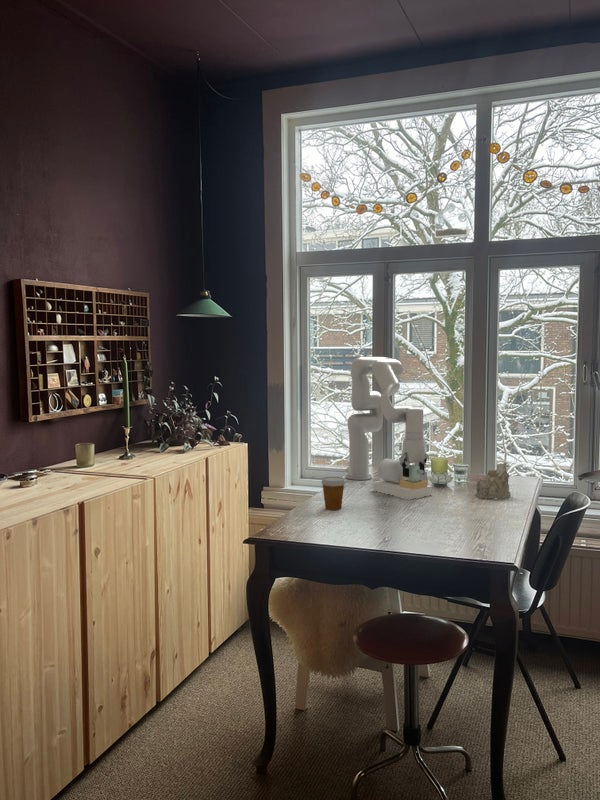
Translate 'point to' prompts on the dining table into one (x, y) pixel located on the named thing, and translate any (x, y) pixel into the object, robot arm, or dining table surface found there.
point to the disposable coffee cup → (333, 492)
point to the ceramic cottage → (494, 484)
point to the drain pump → (414, 473)
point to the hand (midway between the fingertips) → (413, 475)
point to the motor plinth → (401, 490)
